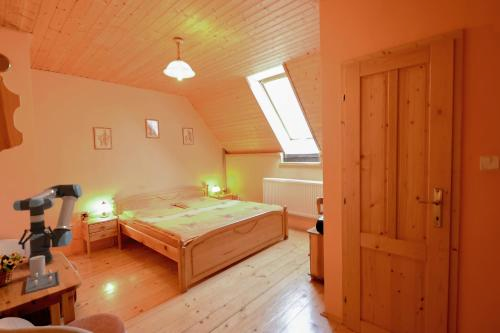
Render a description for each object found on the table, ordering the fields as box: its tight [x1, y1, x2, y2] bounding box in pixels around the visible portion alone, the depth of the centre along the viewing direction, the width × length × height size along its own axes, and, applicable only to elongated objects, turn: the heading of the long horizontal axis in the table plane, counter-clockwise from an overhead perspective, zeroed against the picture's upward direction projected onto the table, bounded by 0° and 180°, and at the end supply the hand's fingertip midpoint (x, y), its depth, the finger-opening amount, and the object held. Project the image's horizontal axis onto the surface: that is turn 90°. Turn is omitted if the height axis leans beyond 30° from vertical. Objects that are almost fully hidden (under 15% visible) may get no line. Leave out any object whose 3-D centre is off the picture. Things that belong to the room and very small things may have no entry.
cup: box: [28, 256, 46, 278], centre depth 170 cm, size 8×8×12 cm
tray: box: [24, 269, 60, 295], centre depth 159 cm, size 22×16×5 cm
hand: (38, 251), depth 170 cm, fingers open, 13 cm apart
